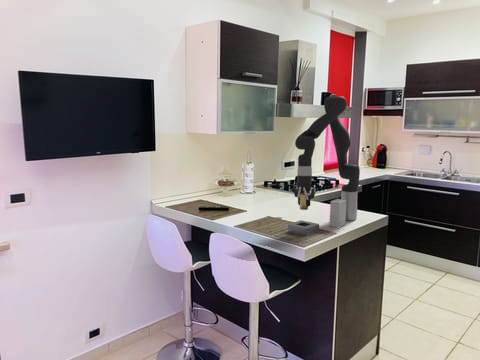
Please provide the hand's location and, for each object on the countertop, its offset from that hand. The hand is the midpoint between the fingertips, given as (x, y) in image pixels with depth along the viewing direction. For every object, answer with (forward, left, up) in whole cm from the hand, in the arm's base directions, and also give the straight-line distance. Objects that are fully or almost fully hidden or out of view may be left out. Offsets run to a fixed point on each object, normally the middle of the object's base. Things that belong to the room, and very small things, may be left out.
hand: (303, 205), depth 206 cm
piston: (0, 0, -2) cm, 2 cm away
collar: (0, 0, -14) cm, 14 cm away
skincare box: (-22, +8, -15) cm, 28 cm away
